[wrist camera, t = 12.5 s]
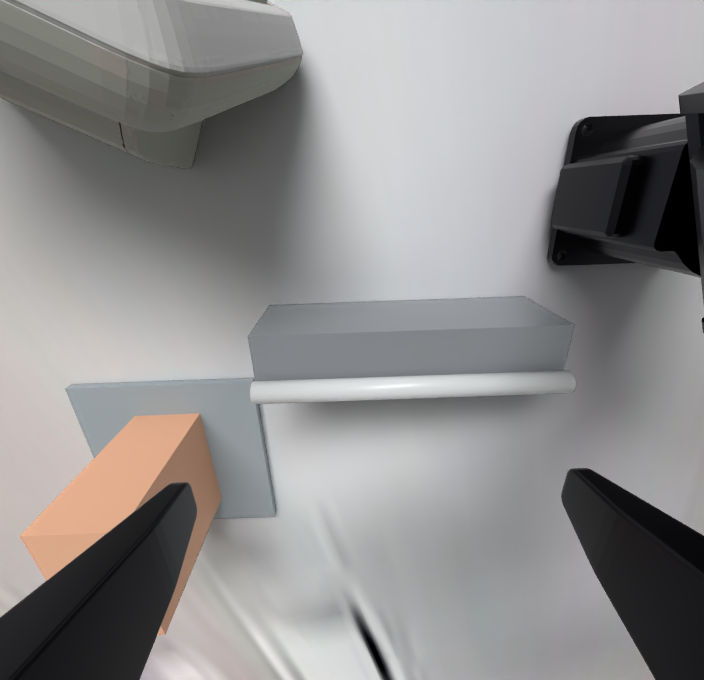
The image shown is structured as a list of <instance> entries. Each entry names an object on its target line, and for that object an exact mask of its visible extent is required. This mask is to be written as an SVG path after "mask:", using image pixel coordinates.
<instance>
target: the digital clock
mask: <svg viewBox="0 0 704 680" xmlns="http://www.w3.org/2000/svg"><path fill="white" fill-rule="evenodd" d="M302 54H303V50H302V47H301V44H300V40H299V37H298V34H297V31H296V28H295V25H294V22H293V19H292V16H291V15H290V14H289V13H288V12H286V11H285V10H283V9H281V8H279V7H278V6H276V5H274V4H272V3H270V2H269V1H267V0H0V98H2V99H5V100H7V101H9V102H12V103H14V104H16V105H18V106H21V107H23V108H25V109H28V110H30V111H32V112H35V113H37V114H39V115H41V116H44V117H46V118H48V119H51V120H53V121H55V122H58V123H60V124H62V125H64V126H67V127H69V128H71V129H74V130H76V131H78V132H81V133H83V134H85V135H87V136H90V137H92V138H94V139H97V140H99V141H101V142H104V143H106V144H108V145H110V146H113V147H115V148H117V149H120V150H122V151H124V152H127V153H129V154H131V155H133V156H136V157H138V158H140V159H142V160H145V161H147V162H150V163H154V164H160V165H167V166H173V167H179V168H186V169H190V168H191V167H192V164H193V161H194V158H195V153H196V149H197V144H198V140H199V135H200V131H201V126H202V122H203V120H204V119H207V118H209V117H211V116H214V115H216V114H219V113H221V112H223V111H226V110H228V109H231V108H233V107H235V106H238V105H240V104H243V103H245V102H248V101H250V100H252V99H255V98H257V97H260V96H262V95H264V94H267V93H269V92H272V91H274V90H276V89H277V88H279V87H280V86H282V85H283V84H285V83H286V82H287V81H288V80H289V79H290V78H291V77H292V76H293V75H294V74H295V72H296V70H297V68H298V67H299V64H300V62H301V59H302Z"/></svg>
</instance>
